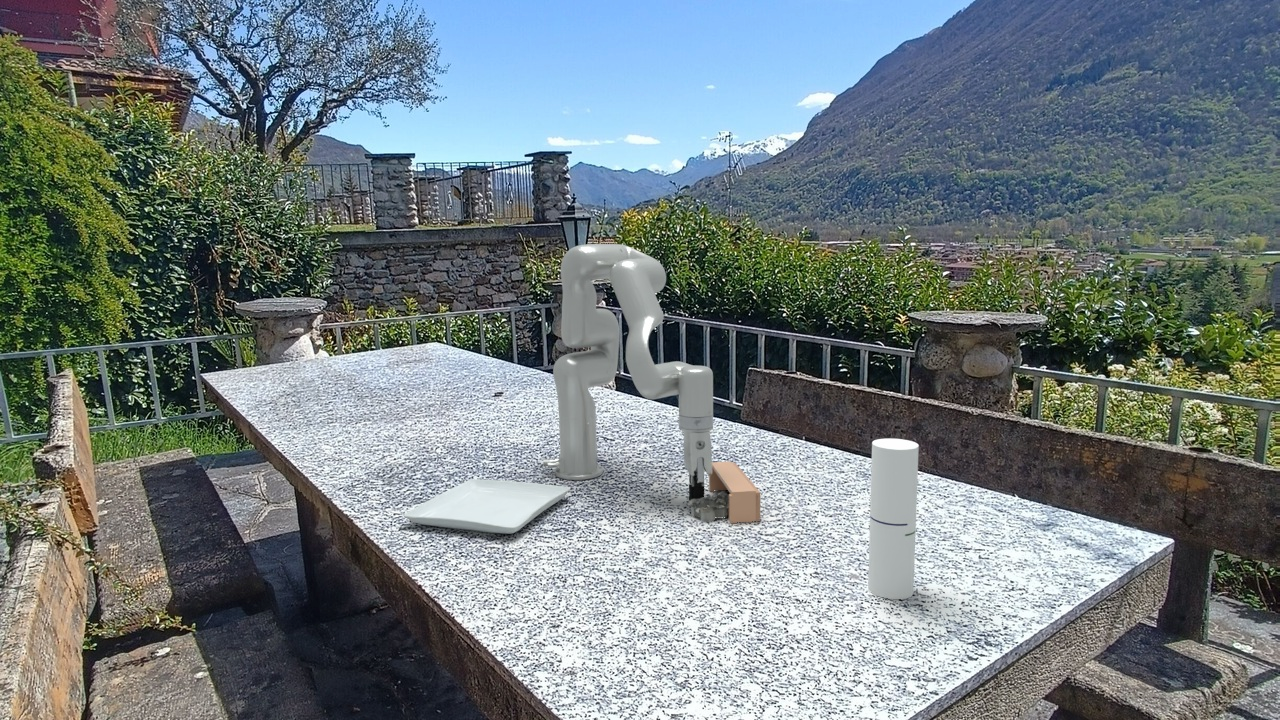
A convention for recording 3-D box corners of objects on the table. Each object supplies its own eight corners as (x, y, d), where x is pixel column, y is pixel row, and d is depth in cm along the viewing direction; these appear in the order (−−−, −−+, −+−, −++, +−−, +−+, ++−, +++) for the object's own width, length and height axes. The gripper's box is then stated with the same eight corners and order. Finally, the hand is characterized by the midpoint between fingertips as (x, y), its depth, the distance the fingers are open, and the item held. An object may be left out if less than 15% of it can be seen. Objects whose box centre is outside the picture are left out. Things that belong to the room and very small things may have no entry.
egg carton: (705, 525, 154) (705, 506, 154) (685, 514, 161) (685, 496, 160) (745, 515, 160) (745, 496, 159) (724, 505, 166) (724, 487, 165)
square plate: (573, 501, 171) (572, 484, 171) (516, 545, 146) (515, 526, 145) (471, 491, 180) (471, 475, 179) (401, 530, 154) (400, 513, 154)
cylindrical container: (861, 581, 126) (865, 439, 122) (901, 579, 126) (906, 437, 123) (878, 600, 119) (882, 450, 115) (921, 598, 119) (926, 448, 116)
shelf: (730, 523, 154) (729, 492, 153) (708, 490, 176) (708, 462, 175) (760, 521, 155) (760, 490, 154) (735, 488, 177) (735, 461, 176)
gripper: (720, 429, 155) (720, 512, 157) (706, 414, 169) (706, 491, 172) (684, 430, 154) (685, 514, 157) (674, 415, 169) (674, 492, 171)
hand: (696, 502), depth 164 cm, fingers closed
